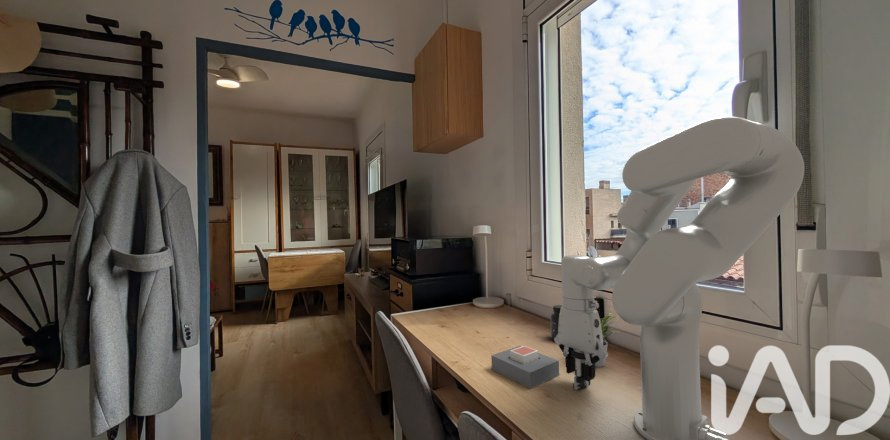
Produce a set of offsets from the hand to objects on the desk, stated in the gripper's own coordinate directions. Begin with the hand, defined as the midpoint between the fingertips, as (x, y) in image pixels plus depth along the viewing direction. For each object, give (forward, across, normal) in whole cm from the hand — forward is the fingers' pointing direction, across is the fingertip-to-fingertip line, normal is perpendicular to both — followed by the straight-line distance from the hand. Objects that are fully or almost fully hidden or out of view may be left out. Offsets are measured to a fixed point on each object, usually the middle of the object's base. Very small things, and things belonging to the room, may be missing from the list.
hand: (580, 374), depth 81 cm
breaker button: (0, +14, +5) cm, 15 cm away
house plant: (+3, +4, -16) cm, 17 cm away
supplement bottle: (+3, +23, -25) cm, 34 cm away
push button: (+3, 0, 0) cm, 3 cm away
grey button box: (+3, +14, +5) cm, 15 cm away
